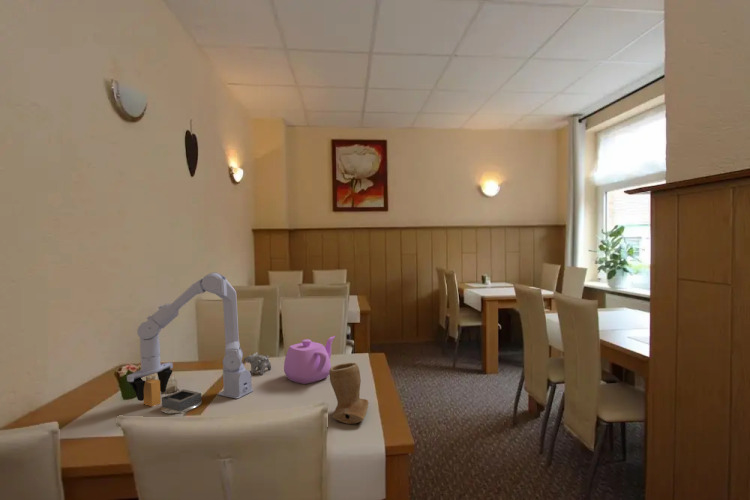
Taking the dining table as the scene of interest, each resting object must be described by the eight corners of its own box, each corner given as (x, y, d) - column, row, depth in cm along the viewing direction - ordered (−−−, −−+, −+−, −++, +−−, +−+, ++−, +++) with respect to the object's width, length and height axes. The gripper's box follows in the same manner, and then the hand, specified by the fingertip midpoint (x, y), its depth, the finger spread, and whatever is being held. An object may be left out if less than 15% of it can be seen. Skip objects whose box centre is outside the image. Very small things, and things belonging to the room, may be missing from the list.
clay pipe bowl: (335, 403, 122) (334, 357, 122) (371, 404, 120) (369, 358, 120) (323, 425, 107) (321, 373, 107) (363, 426, 105) (362, 374, 105)
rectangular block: (152, 401, 128) (151, 378, 128) (160, 403, 126) (159, 380, 126) (143, 405, 125) (142, 381, 125) (152, 407, 123) (151, 383, 123)
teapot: (307, 392, 132) (306, 350, 131) (277, 378, 147) (276, 340, 147) (355, 375, 147) (354, 337, 147) (324, 364, 163) (323, 330, 162)
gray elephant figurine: (268, 376, 151) (268, 357, 151) (237, 376, 150) (238, 357, 150) (272, 368, 160) (272, 351, 160) (243, 369, 159) (244, 351, 159)
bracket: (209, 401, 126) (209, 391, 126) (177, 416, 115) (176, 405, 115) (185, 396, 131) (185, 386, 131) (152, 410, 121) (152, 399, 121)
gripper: (163, 349, 134) (164, 386, 134) (120, 360, 121) (122, 402, 121) (176, 350, 130) (177, 389, 131) (134, 363, 117) (135, 405, 118)
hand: (151, 395), depth 125 cm, fingers open, 7 cm apart
